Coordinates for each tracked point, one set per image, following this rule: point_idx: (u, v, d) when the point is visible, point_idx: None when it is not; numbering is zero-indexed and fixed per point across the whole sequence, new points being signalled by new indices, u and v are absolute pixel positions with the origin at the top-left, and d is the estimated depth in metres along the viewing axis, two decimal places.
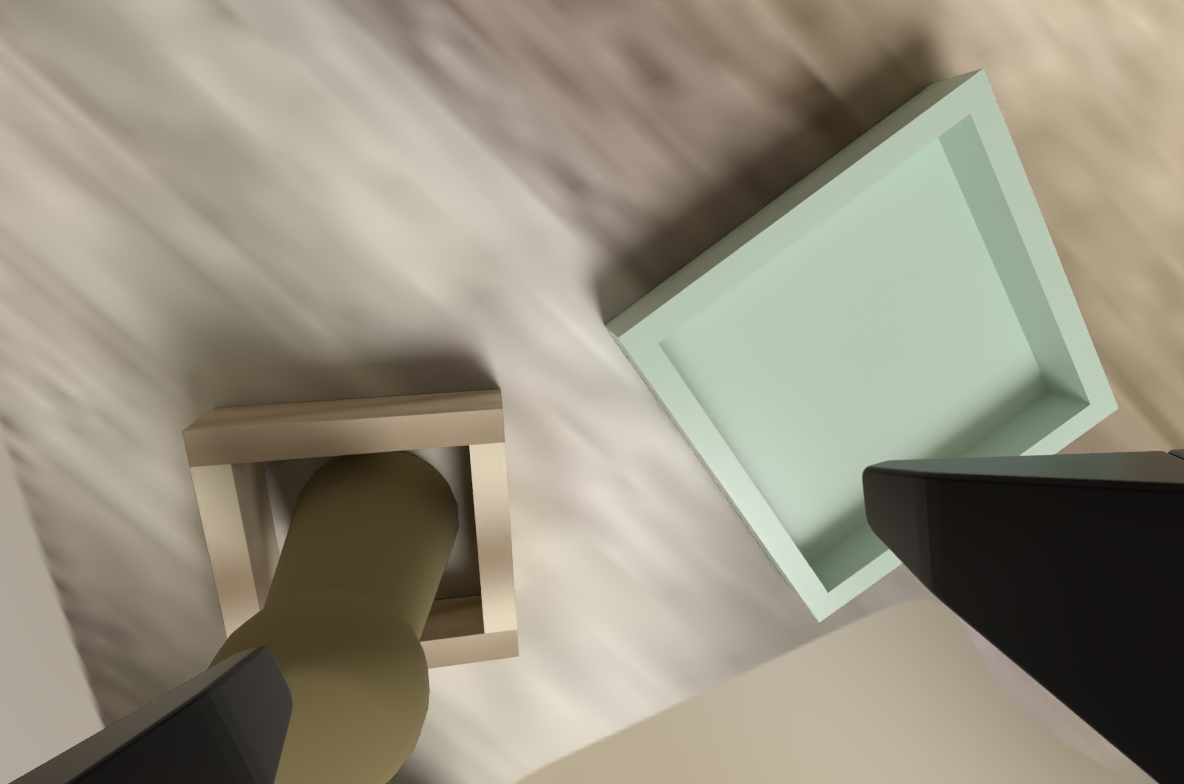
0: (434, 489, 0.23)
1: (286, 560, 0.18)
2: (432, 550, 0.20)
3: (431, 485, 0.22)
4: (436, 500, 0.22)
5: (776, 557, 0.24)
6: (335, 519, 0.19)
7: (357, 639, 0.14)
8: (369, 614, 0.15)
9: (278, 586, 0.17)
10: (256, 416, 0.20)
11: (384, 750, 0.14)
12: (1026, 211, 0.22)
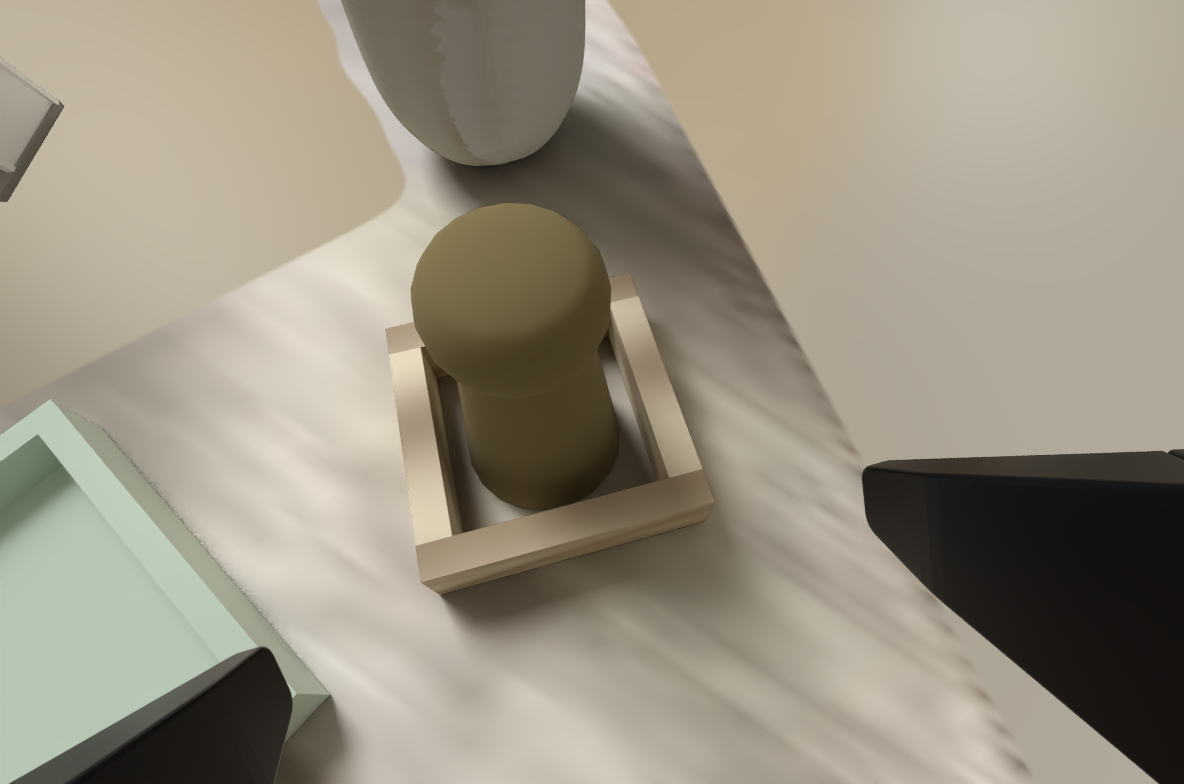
0: (489, 478, 0.23)
1: (590, 405, 0.19)
2: (468, 426, 0.20)
3: (493, 481, 0.22)
4: (484, 469, 0.22)
5: (102, 465, 0.22)
6: (559, 446, 0.19)
7: (473, 364, 0.15)
8: (474, 383, 0.15)
9: (584, 385, 0.18)
10: (660, 524, 0.21)
11: (432, 269, 0.15)
12: None
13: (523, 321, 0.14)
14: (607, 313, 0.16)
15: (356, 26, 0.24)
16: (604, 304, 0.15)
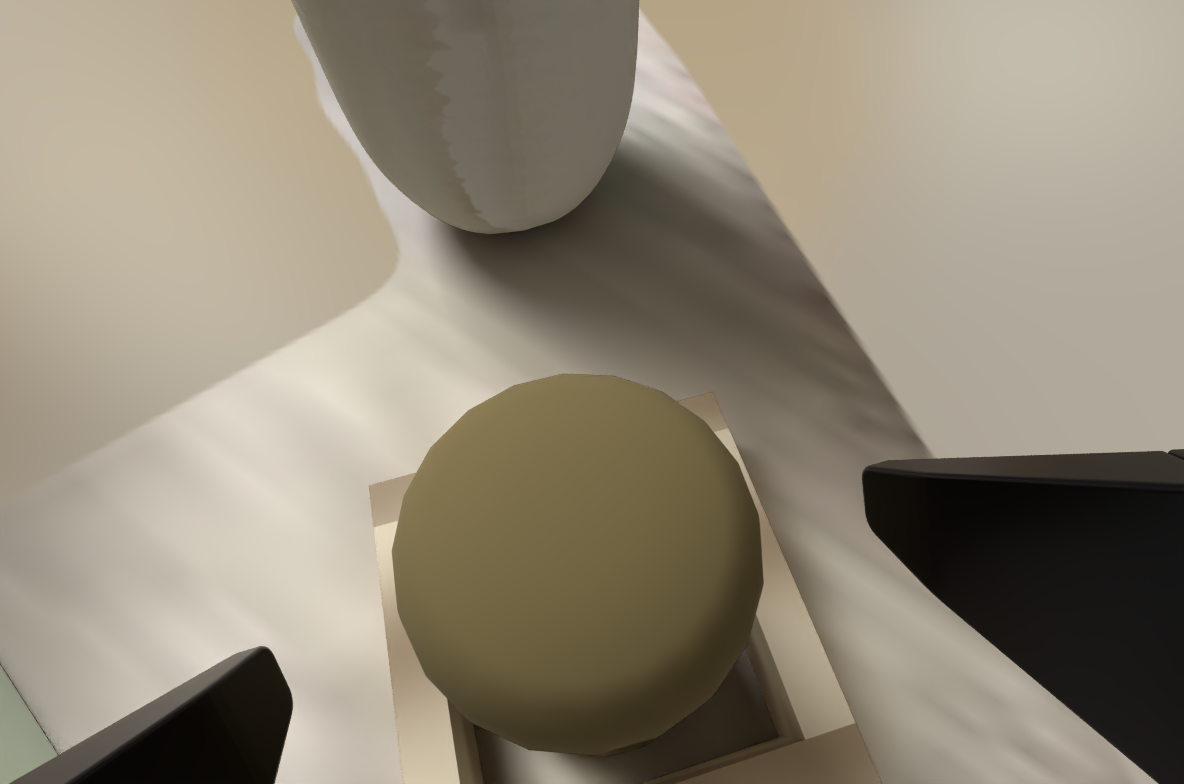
0: None
1: None
2: None
3: None
4: None
5: None
6: None
7: (515, 736, 0.07)
8: (516, 741, 0.08)
9: None
10: None
11: (431, 533, 0.08)
12: None
13: (619, 663, 0.07)
14: (762, 588, 0.08)
15: (323, 58, 0.17)
16: (761, 580, 0.08)
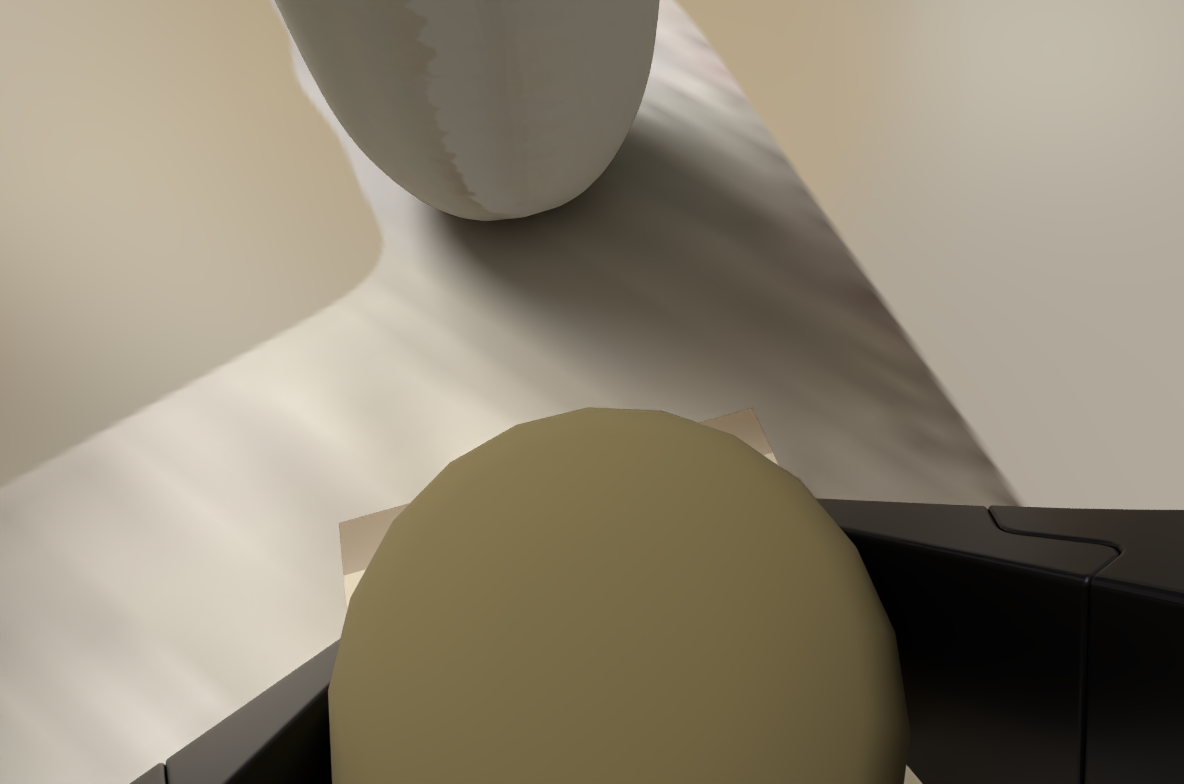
0: None
1: None
2: None
3: None
4: None
5: None
6: None
7: None
8: None
9: None
10: None
11: (383, 682, 0.05)
12: None
13: None
14: None
15: (282, 4, 0.14)
16: None
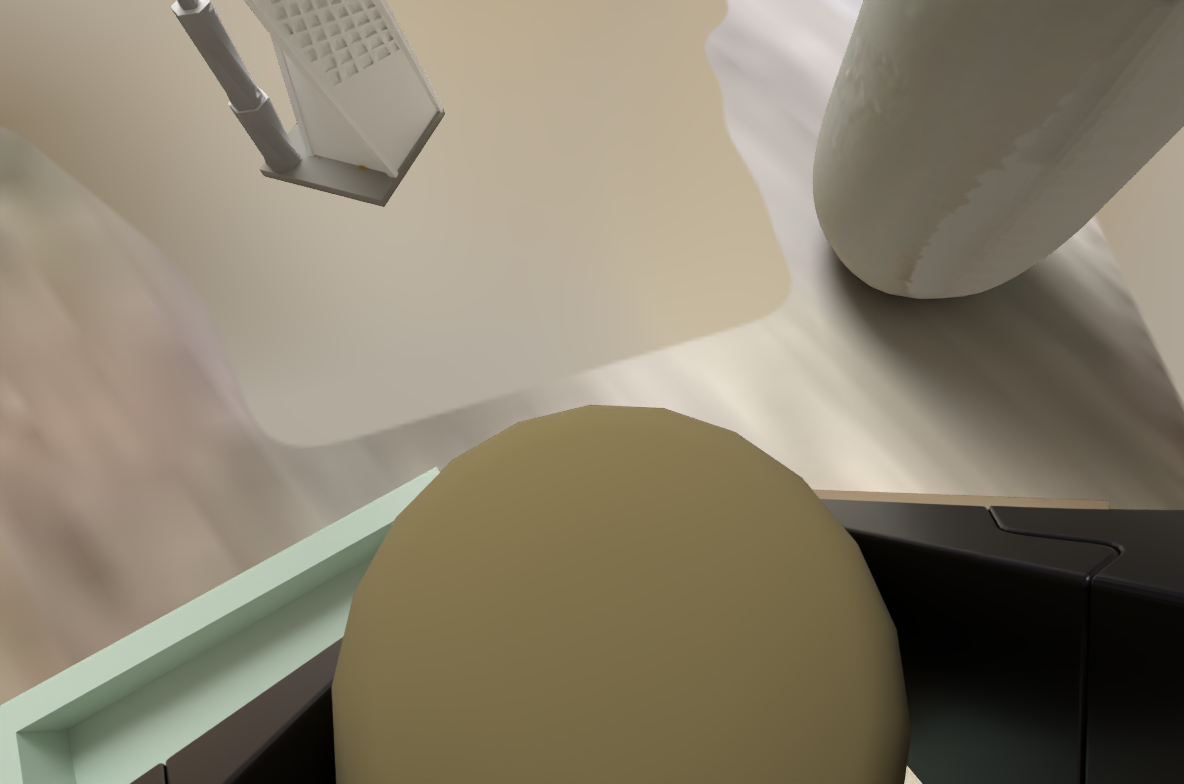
0: None
1: None
2: None
3: None
4: None
5: None
6: None
7: None
8: None
9: None
10: None
11: (388, 676, 0.05)
12: None
13: None
14: None
15: (864, 141, 0.20)
16: None
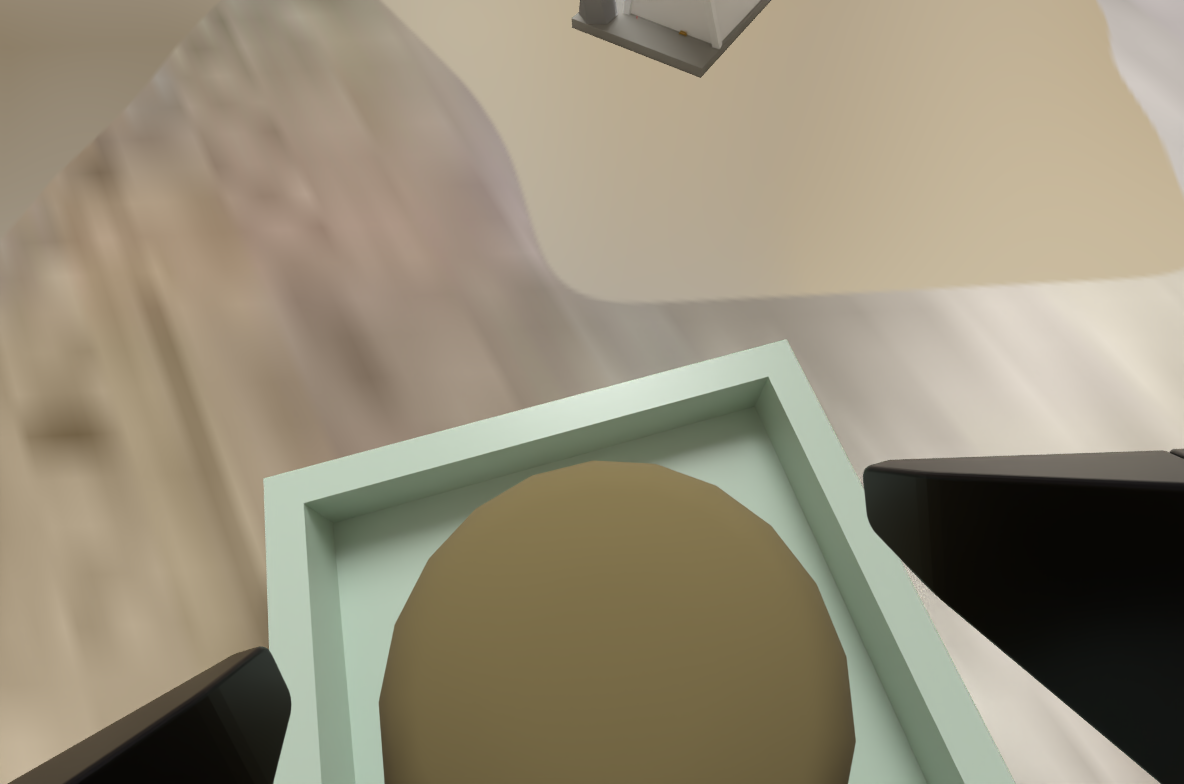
0: None
1: None
2: None
3: None
4: None
5: (845, 460, 0.16)
6: None
7: None
8: None
9: None
10: None
11: (428, 697, 0.06)
12: None
13: None
14: None
15: None
16: (853, 748, 0.06)
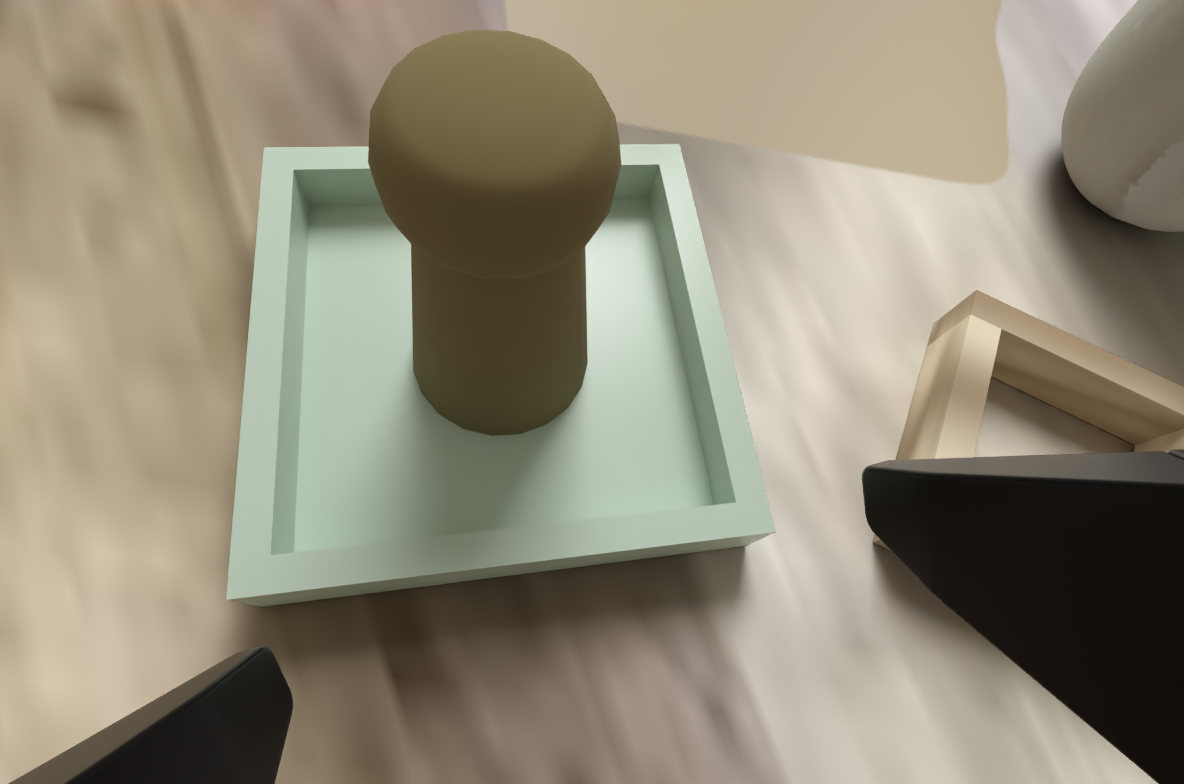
0: (431, 388, 0.19)
1: (565, 316, 0.16)
2: (416, 318, 0.17)
3: (434, 392, 0.19)
4: (426, 375, 0.19)
5: (697, 226, 0.22)
6: (519, 358, 0.17)
7: (434, 216, 0.11)
8: (432, 245, 0.12)
9: (564, 288, 0.15)
10: None
11: (402, 85, 0.11)
12: (260, 408, 0.18)
13: (508, 170, 0.11)
14: (612, 193, 0.13)
15: (1179, 17, 0.22)
16: (611, 179, 0.12)
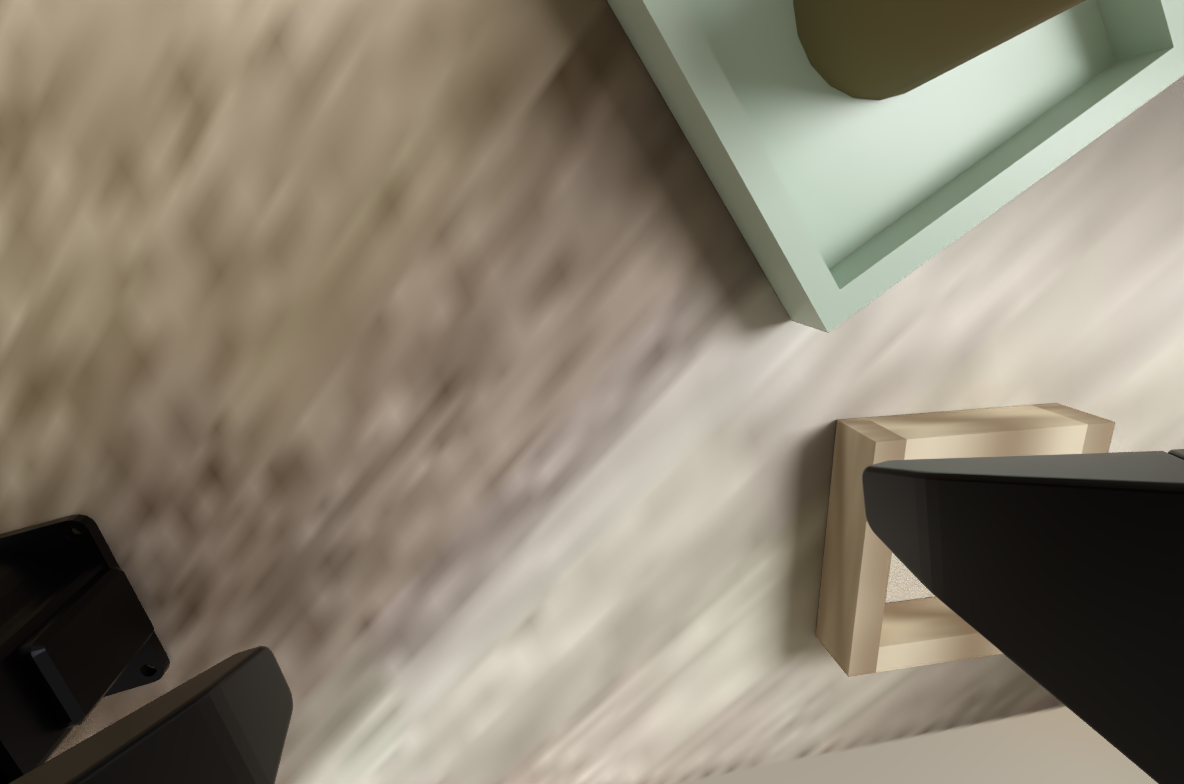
0: None
1: (989, 25, 0.15)
2: None
3: None
4: None
5: (1106, 127, 0.20)
6: (919, 6, 0.15)
7: None
8: None
9: (1033, 2, 0.14)
10: (837, 620, 0.25)
11: None
12: None
13: None
14: None
15: None
16: None
